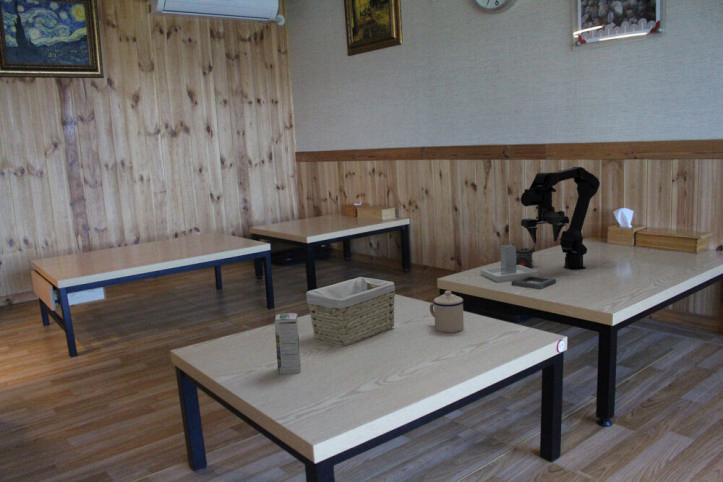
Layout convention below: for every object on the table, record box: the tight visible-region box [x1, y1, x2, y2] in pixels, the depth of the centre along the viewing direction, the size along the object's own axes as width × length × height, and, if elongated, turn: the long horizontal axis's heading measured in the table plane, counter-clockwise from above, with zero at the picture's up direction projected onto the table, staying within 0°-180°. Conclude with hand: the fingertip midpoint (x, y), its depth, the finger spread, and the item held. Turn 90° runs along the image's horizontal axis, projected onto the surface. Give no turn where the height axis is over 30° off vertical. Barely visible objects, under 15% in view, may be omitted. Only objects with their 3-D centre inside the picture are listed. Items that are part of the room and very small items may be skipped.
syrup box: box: [274, 312, 302, 375], centre depth 156 cm, size 6×6×14 cm
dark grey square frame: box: [511, 275, 557, 290], centre depth 231 cm, size 12×12×2 cm
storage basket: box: [305, 276, 396, 346], centre depth 183 cm, size 24×16×15 cm
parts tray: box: [479, 265, 539, 283], centre depth 246 cm, size 18×15×2 cm
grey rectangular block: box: [499, 244, 517, 275], centre depth 245 cm, size 4×4×12 cm
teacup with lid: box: [429, 290, 465, 334], centre depth 183 cm, size 12×9×12 cm
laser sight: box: [511, 243, 536, 268], centre depth 264 cm, size 10×22×10 cm, turn 161°
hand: (545, 242), depth 244 cm, fingers open, 9 cm apart
